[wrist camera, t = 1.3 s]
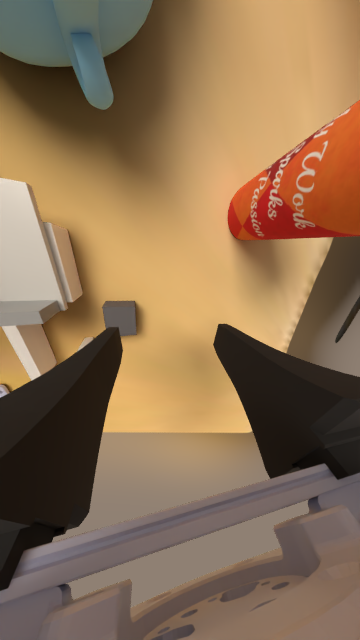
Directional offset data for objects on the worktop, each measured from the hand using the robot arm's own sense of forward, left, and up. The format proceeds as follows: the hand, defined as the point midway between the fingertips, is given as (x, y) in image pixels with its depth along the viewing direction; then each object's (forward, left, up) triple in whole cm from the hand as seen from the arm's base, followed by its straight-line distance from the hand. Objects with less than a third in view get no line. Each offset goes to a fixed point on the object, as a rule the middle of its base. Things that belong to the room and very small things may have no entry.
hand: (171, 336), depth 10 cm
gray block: (-2, +4, -11) cm, 12 cm away
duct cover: (+5, +11, -7) cm, 14 cm away
